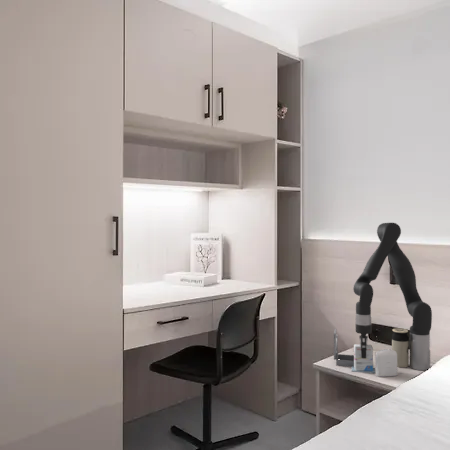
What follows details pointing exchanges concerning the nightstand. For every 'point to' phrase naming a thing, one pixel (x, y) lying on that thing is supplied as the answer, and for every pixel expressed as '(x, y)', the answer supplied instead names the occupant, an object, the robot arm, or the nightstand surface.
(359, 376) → the nightstand surface
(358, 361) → the ink box
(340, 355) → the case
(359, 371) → the pad
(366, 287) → the robot arm
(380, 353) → the photo printer
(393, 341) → the travel mug
